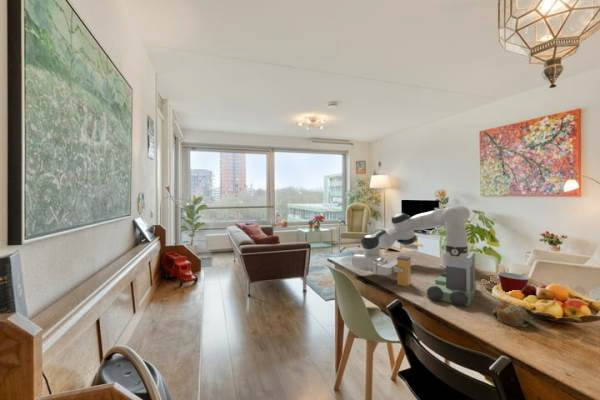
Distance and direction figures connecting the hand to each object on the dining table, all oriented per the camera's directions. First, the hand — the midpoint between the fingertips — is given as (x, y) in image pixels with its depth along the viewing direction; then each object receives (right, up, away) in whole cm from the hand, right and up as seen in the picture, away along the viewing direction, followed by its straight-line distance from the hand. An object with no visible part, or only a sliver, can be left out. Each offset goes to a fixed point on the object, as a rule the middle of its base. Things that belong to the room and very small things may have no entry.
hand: (405, 268), depth 137 cm
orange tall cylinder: (-1, -8, +1) cm, 8 cm away
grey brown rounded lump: (+22, -9, -40) cm, 47 cm away
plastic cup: (+36, -8, -24) cm, 44 cm away
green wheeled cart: (+16, -8, -13) cm, 23 cm away
